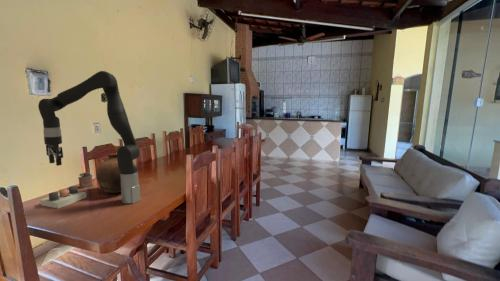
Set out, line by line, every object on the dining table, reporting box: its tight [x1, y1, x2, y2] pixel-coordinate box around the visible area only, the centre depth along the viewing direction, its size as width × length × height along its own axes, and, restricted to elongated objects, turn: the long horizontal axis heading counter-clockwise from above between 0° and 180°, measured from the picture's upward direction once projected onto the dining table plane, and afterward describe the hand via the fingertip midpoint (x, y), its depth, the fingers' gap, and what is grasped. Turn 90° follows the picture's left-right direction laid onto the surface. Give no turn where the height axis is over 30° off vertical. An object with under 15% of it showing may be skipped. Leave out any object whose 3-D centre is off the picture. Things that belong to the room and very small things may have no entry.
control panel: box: [39, 189, 88, 209], centre depth 139 cm, size 13×16×3 cm
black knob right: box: [68, 185, 79, 193], centre depth 144 cm, size 4×4×3 cm
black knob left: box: [48, 191, 59, 200], centre depth 133 cm, size 4×4×3 cm
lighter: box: [77, 171, 94, 190], centre depth 162 cm, size 8×3×10 cm, turn 149°
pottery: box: [95, 153, 136, 194], centre depth 155 cm, size 23×23×25 cm
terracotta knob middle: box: [58, 188, 69, 197], centre depth 138 cm, size 4×4×3 cm
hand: (55, 164), depth 135 cm, fingers open, 8 cm apart
